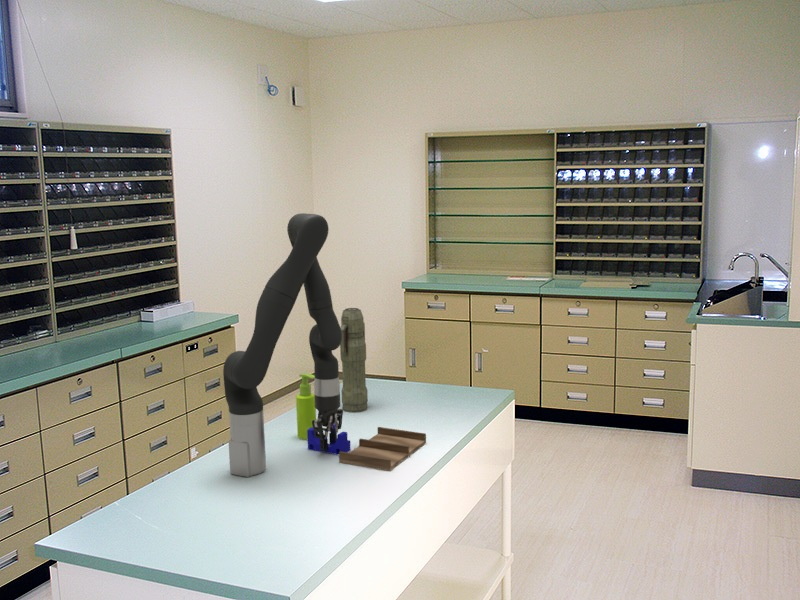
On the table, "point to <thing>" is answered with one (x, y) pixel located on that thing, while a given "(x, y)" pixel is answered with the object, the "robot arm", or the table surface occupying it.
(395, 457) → the rack
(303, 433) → the soap dispenser
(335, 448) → the blue cradle stand
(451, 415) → the table surface
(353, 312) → the thermos
